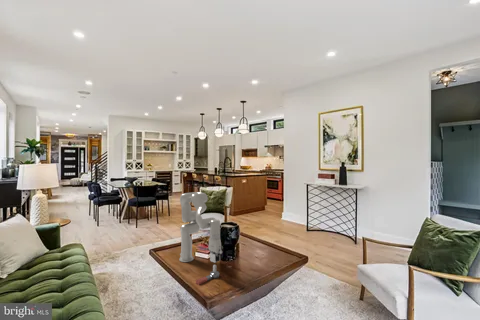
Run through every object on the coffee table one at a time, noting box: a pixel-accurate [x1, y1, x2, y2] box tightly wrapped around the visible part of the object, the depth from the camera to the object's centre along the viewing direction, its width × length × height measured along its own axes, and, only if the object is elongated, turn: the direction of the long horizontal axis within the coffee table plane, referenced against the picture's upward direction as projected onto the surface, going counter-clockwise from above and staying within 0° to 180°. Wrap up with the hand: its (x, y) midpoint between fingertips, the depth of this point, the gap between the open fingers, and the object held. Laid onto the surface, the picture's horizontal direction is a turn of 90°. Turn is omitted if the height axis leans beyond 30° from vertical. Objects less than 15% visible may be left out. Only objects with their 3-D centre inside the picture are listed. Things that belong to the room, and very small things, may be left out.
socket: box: [209, 252, 221, 263], centre depth 190 cm, size 5×5×6 cm
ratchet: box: [195, 264, 220, 286], centre depth 186 cm, size 7×20×8 cm, turn 137°
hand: (215, 259), depth 190 cm, fingers closed on socket, 5 cm apart
